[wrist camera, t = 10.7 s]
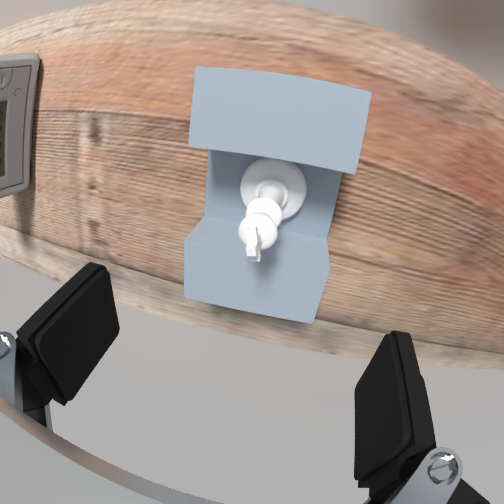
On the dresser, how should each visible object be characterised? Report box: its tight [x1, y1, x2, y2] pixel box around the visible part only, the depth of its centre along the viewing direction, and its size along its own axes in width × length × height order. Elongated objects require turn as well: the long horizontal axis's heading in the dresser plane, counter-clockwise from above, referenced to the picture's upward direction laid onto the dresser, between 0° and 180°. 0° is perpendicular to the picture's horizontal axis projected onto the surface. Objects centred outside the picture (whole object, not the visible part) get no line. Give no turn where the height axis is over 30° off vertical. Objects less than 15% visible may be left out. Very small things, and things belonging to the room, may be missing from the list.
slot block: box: [184, 67, 372, 324], centre depth 21 cm, size 10×17×6 cm, turn 173°
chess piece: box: [238, 157, 307, 261], centre depth 18 cm, size 5×5×10 cm
